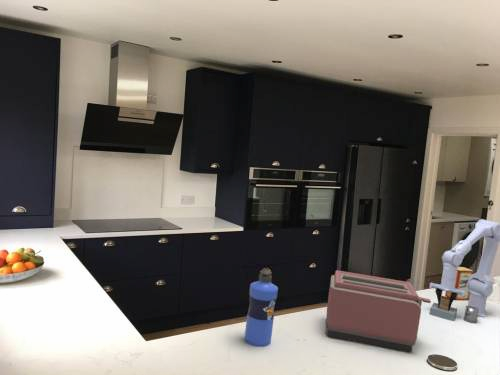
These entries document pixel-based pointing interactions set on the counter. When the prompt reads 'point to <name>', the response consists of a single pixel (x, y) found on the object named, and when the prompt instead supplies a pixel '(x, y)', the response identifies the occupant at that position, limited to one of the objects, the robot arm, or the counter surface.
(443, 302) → the square peg
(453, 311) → the socket block
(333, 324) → the toaster
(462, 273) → the baking soda box
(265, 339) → the water bottle
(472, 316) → the round peg
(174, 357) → the counter surface
